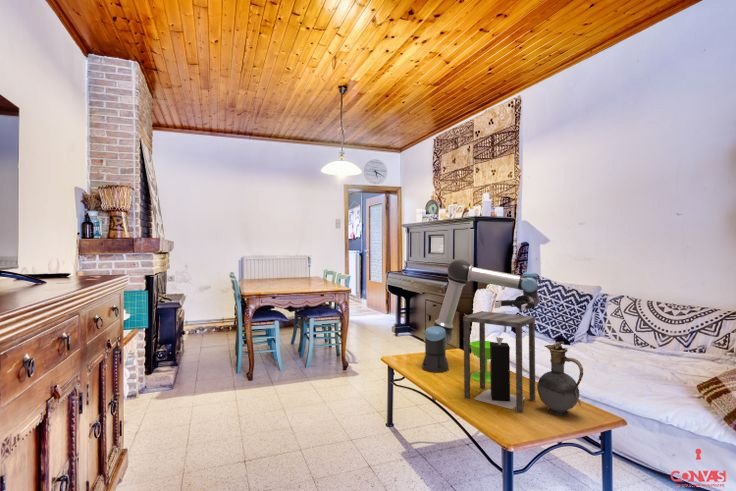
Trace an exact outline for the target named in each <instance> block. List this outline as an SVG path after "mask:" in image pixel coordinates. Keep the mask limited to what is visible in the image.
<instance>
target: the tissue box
mask: <svg viewBox="0 0 736 491" xmlns="http://www.w3.org/2000/svg"><path fill="white" fill-rule="evenodd" d="M503 340H504V337H498V336H497V337H496V341H495V342H494V341H491V342H490V359H489V362H490V366H489V367H490V370H489V372H490V382H491V383H490V389H491V398H492V400H496V401H510V394H511V373H510V372H511V367H510V365H511V363H510V361H511V360H510V358H511V357H510V355H511V354H510V350H511V349H510V348H511V346H510V345H509V343H508V342H503Z"/></svg>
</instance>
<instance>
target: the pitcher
mask: <svg viewBox="0 0 736 491" xmlns="http://www.w3.org/2000/svg"><path fill="white" fill-rule="evenodd" d="M564 344H565V342H564V341H559V342H554V344H547V345H544V348H547V349H548V350H549V353H550V363H551V364H550V366H551V367H550V368H551V370H550V371H547V372H545V373H543V374H542V375H541V376H540V378H539V379H538V381H537V385H536V386H537V394H538V396H539V399H540V401H541V402H542V403H543V404H544V405H545V406H547V411H548V412H549V413H551V414H552V415H555V416H559V417H565V416H568V415H569V410H572V409H573V408H574V407H575V406H576V405H577V404H579V406H581V404H582V403H581V402H580V401H581V399H580V390H579V385H580V383H581V382H582V378H583V376H584V367H583V365H582V363H581V362H580V361H579V360H578V359H576V358H574V357H567V356H566V353H567V352H568V351H569V349H568V348H567V347H563V346H562V345H564ZM567 362H571V363H574V364H575V365H577V367H578V369H579V375H578V379H577V382H576V379H574V378H573V377H572V376H571V375H569V374H567V373H566V372H565V364H566V363H567Z"/></svg>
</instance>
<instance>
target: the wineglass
mask: <svg viewBox="0 0 736 491" xmlns="http://www.w3.org/2000/svg"><path fill="white" fill-rule="evenodd" d="M490 342H492V341H489V340H485V384H486V383H488V384H491V382H490V371H488V360H490ZM470 350H471V352H472V353H473V355H474V356H476V357H477V358H478V359H480V341H479V340H474V341H470ZM470 377H471V378H472V379H471V378H470V379H471V380H473V381H475V380H476V381H475V382H479V383H480V371H474V372H472V373H470Z"/></svg>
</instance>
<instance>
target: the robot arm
mask: <svg viewBox="0 0 736 491" xmlns="http://www.w3.org/2000/svg"><path fill="white" fill-rule="evenodd" d="M447 274H448V275H447V280H448V283H447V288H446V292H445V295H444V298H443V301H442V305H441V308H440V312H439V316H438V318H437V319H435V320H434V323H433V326H429V327H427V328H426V329H425V330H424V332H425V333H424V342H425V343H424V345H425V346H424V347H425V348H424V349H425V350H424V352H425V354H424V357H423V360H422V361H423V362H422V365H421V366H422V369H423V370H424V369H425V370H424V371H426V370H427V372H429V371H431V372H430V373H445V372H447V370H448V371H449V369H450V364H449V361H448V359H447V356H446V351H447V350H446V345H447V344H448V343H450V342H451V339H452V337H453V329H454V325H453V322H454V318H455V316H456V315H455V314H456V311H457V307H458V305H459V301H460V298H461V295H462V292H463V288H464V286H466V285H467V284H468V282H470V281H473V282H474V281H475V282H478V283H482V284H489V285H494V286H499V287H504V288H509V289H515V290H519V291H522V295H518V296H517V297H515V299H505V300H495V302H494V308H495V309H498V308H499V309H500V308H501V307H512V308H514V307H515V308H516V309H518V310H521V311H522V312H524V311H527V310H535V309H536V306H538V305H539V304H540V302H541V298H540V296H539V295H538V273H537V272H533V271H532V272H530V271H529V272H523V273H522V275H520V274H519V275H517V274H513V273H507V272H502V271H497V270H492V269H491V270H490V269H487V268H486V269H485V268H480V267H476V266H475V267H474V266H473V264H470V262H469V261H467V260H465V259H456V260H453V261H451V262H450V263H449V264H448V267H447ZM444 371H445V372H444Z"/></svg>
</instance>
